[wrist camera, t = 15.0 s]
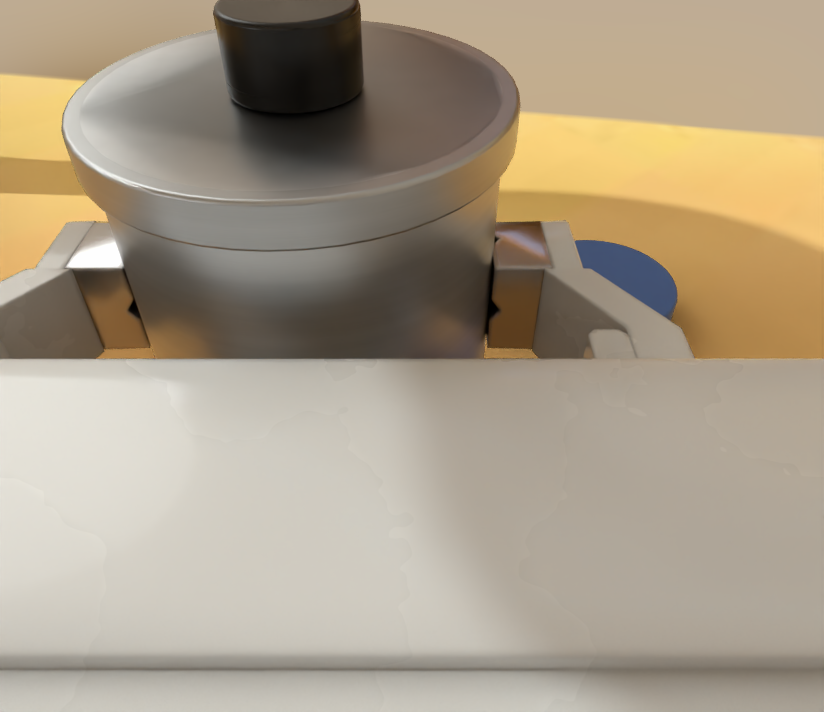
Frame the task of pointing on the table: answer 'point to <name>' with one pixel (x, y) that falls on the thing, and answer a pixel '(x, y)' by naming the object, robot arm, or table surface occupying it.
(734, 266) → the table surface
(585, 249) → the spoon
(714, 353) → the table surface
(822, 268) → the table surface
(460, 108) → the pot
